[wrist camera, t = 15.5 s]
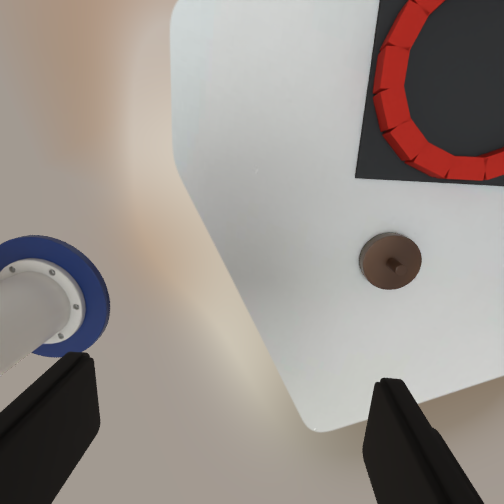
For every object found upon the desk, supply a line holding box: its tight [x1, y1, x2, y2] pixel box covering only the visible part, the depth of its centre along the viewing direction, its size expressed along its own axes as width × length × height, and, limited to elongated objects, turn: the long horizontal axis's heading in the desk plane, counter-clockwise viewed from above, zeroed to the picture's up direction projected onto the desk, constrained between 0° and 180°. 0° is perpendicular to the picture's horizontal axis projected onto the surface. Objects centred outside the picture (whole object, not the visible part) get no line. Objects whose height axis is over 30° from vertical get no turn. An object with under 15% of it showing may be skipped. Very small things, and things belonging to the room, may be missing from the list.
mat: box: [355, 0, 504, 186], centre depth 29 cm, size 20×20×1 cm
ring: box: [373, 0, 504, 181], centre depth 28 cm, size 19×19×2 cm
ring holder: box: [359, 233, 422, 290], centre depth 33 cm, size 6×6×4 cm
